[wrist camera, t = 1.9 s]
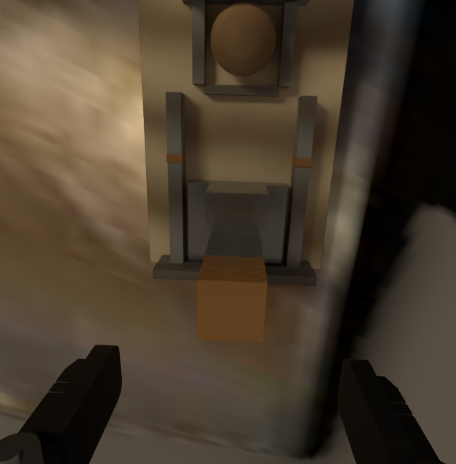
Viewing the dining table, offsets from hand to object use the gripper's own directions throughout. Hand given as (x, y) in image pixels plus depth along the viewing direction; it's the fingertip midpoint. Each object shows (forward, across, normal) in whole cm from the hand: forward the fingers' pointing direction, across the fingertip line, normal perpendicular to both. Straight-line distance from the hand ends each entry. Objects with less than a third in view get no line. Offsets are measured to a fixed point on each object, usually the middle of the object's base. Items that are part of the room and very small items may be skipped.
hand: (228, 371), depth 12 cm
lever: (+15, 0, -1) cm, 15 cm away
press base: (+17, 0, -8) cm, 19 cm away
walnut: (+15, 0, -13) cm, 20 cm away
